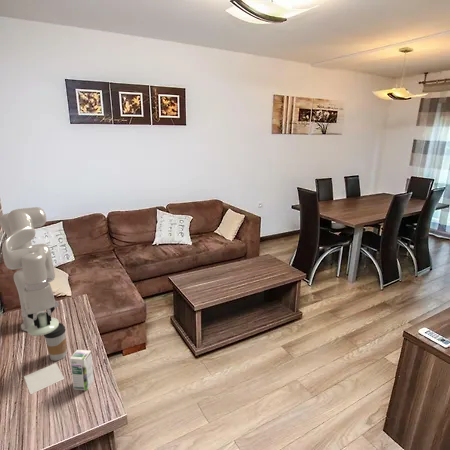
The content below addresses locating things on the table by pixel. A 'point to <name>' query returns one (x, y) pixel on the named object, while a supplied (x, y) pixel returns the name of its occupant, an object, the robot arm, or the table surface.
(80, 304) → the table surface
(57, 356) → the coffee cup
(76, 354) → the syrup box
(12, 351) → the table surface
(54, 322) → the lid
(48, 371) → the mat
